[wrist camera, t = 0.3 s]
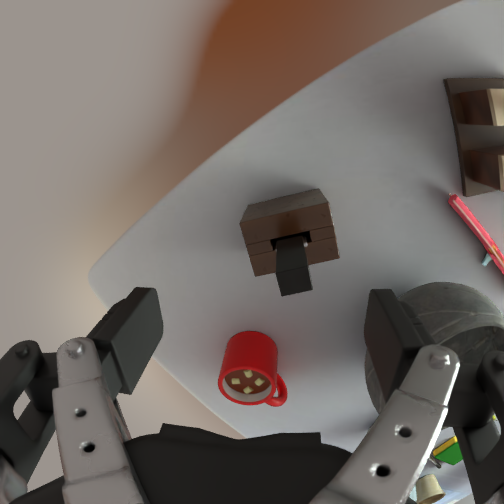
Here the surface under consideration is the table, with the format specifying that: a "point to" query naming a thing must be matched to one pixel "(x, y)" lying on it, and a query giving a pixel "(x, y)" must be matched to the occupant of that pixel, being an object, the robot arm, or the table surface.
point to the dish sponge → (449, 452)
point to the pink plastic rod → (478, 232)
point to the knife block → (289, 228)
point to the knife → (434, 462)
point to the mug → (251, 371)
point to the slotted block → (478, 132)
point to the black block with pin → (292, 264)
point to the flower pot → (428, 490)
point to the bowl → (450, 325)
